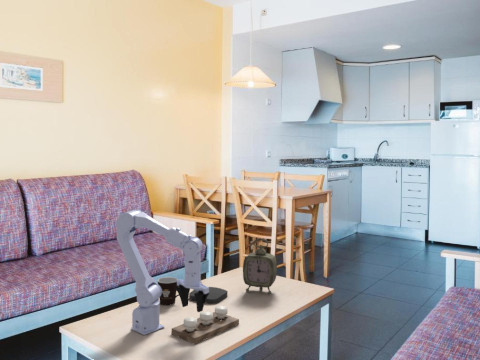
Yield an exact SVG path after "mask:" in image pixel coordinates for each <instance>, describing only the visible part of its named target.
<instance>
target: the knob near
mask: <svg viewBox="0 0 480 360" xmlns="http://www.w3.org/2000/svg"><path fill="white" fill-rule="evenodd" d="M183 324H184V327H186V331H187V332H190V333H191V332H193V331H194V327H196V326H197V317H192V316H191V317H185V318H184V319H183Z"/></svg>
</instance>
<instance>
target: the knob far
mask: <svg viewBox="0 0 480 360" xmlns="http://www.w3.org/2000/svg"><path fill="white" fill-rule="evenodd" d="M214 312H215V314H216V315H217V318H218V319H224V318H225V315H228V307H227V306H225V305H218V306H215V307H214Z"/></svg>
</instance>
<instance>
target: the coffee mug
mask: <svg viewBox="0 0 480 360" xmlns="http://www.w3.org/2000/svg"><path fill="white" fill-rule="evenodd" d="M177 280H179V279H178V278H177V277H174V276H173V277H171V276H165V277H160V278H158V279H157V281H156V282H157V284H158V285H159V286H160V287H161V289H162V294H161V296H160V297H159V302H160V304H159V305H160V306H173V305H175V304H176V299H177V298H178V297H180V296H179V294H177V290H176V288H178V287H179V286H178V285H177Z"/></svg>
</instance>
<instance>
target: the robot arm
mask: <svg viewBox="0 0 480 360" xmlns="http://www.w3.org/2000/svg"><path fill="white" fill-rule="evenodd" d="M115 225H116V240H117V244H118V246H119V247H120V249H121V252H122V255H123V256H124V259H125V260H126V264H127V265H128V267H129V270H130V272H131V274H132V276H133V279H134V281H135V288H134V290H135V292H136V301H137V304H138V306H137V307H135V308H134V309H133V310H132V312H131V313H132V315H131V316H132V317H131V318H132V319H131V320H132V322H131V323H132V325H131V326H132V327H131V328H130V330H133V331H134V332H137V333H139V334H141V335H143V336H145V335H147V334H150V333H151V334H152V333H153V332H155V331H158V330H161V329H164V328H165V325H163V324H160V305H161V304H160V299H159V297H160V296H161V294H162V289H161V287H160V286H159V285H158V282H157V281H156V279H155V278H153V277H152V276H151V275H150V273H149V271H148V269H147V267H146V264H145V262H144V260H143V258H142V255H141V253H140V251H139V248H138V246H137V244H136V242H135V239H134V235H135V233H136V231H137V229H142V228H146V229H148V230H150V231H152V232H154V233H156V234H158V235H160V236H162V237H164V238H165V241H166V242H167V243H168V244H170V245H172V246H174V247H176V248H178V249H179V250H182V252H183V254H184V279H182V278H180V279H178V280H177V285H178V288H176V290H177V291H176V293H178V294H179V296H178V297H179V299H180V302H181V306H182V308H185V307H188V306H189V305H188V304H189V300H190V299H189V293H190V292H191V290H192V291H193V290H196V291H199V292H197V293H195V294H194V295H195V298H196V301H195V302H196V311H197V313H201V312H204V311H203V310H204V306H205V304H206V303H205V301H206V298H207V297H208V295H209V287H210V286H206V285H205V284H203V283H202V279H201V278H202V277H201V276H202V275H201V273H202V272H201V271H202V266H201V265H202V259H201V258H202V257H201V256H202V255H201V251H202V249H203V242H202V240H201V238H199V237H198V236H192V234H187V233H186V232H184V231H181V228H179V227H171V228H169V227H167V226H166V225H164V224H162V223H161V222H160V221H157V220H156V219H155V218H153V217H152V216H149V215H148V214H147V213H146V212H143V211H141V210H140V209H137V208H135V209H134V208H133V209H131V210H129V211H127V212H122V213H121V214H119V215H118V217H117V219H116V221H115ZM178 294H177V295H178Z"/></svg>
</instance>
